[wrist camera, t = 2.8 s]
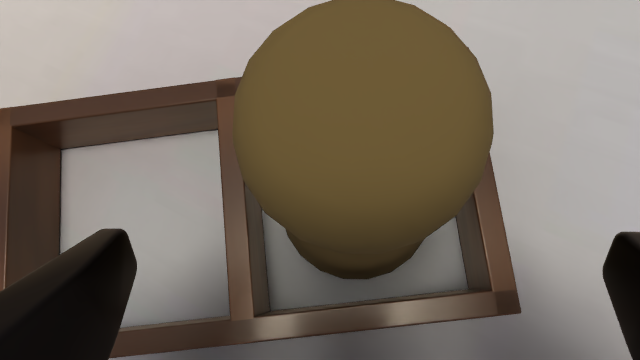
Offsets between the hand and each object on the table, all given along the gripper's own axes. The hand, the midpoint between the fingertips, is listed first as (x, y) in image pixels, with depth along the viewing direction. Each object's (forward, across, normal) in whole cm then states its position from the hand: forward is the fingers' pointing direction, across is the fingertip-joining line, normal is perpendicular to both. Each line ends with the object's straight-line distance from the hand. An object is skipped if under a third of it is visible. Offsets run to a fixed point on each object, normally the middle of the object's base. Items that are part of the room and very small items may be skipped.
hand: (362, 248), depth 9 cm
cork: (+9, 0, +5) cm, 10 cm away
